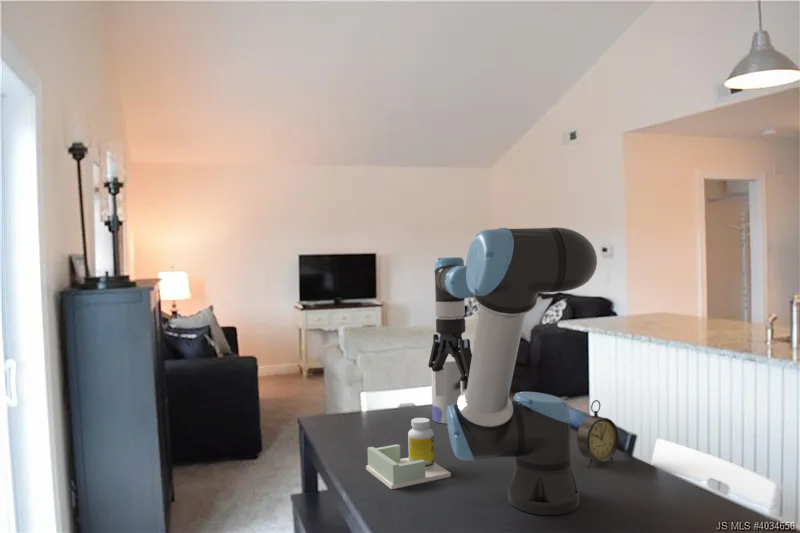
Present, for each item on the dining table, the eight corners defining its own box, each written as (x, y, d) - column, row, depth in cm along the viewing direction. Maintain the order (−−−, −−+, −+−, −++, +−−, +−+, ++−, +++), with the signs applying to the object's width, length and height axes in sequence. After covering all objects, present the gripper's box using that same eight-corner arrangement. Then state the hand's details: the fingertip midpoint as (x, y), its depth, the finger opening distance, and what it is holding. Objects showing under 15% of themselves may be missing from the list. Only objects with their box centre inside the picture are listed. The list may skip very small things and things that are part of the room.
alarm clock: (589, 470, 152) (588, 405, 152) (573, 464, 157) (572, 400, 157) (620, 462, 158) (619, 399, 157) (603, 456, 162) (602, 395, 162)
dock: (450, 476, 150) (450, 454, 150) (391, 489, 143) (390, 465, 143) (421, 458, 164) (421, 438, 164) (366, 469, 157) (365, 447, 157)
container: (464, 423, 195) (463, 360, 195) (433, 424, 196) (431, 361, 195) (462, 415, 205) (460, 355, 205) (431, 415, 206) (430, 356, 205)
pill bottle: (432, 471, 152) (431, 424, 151) (406, 469, 153) (405, 423, 153) (436, 462, 158) (435, 417, 158) (411, 460, 159) (410, 416, 159)
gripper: (490, 320, 149) (492, 408, 150) (438, 312, 171) (440, 389, 172) (464, 322, 146) (466, 413, 146) (414, 314, 168) (416, 393, 168)
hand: (452, 400), depth 159 cm, fingers open, 12 cm apart
